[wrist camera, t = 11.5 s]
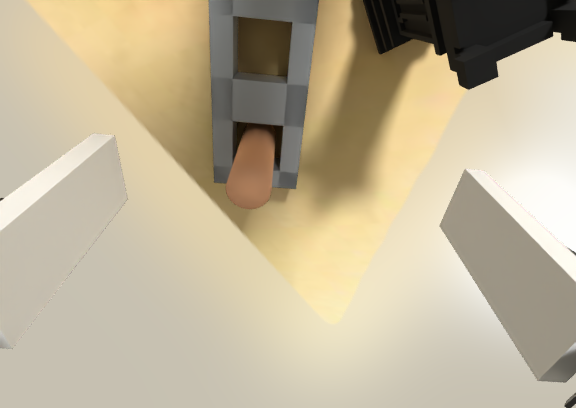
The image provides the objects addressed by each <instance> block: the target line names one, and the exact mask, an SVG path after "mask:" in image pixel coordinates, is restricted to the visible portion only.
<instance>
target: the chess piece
mask: <svg viewBox="0 0 576 408" xmlns="http://www.w3.org/2000/svg"><path fill="white" fill-rule="evenodd" d="M363 2H364V6H365V9H366V12H367V16H368V19H369V22H370V25H371V29H372V32H373V35H374V39H375V42H376V45H377V48H378V52H379V54H383V53H385V52H387V51H389V50H391V49H393V48H395V47H397V46H399V45H402V44H404V43H406V42H408V41H410V40H412V39H417V40H421V41H424V42H428V43H432V44H434V48H435V52H436V54H437V55H440V56H441V55H443V54H445V53H447V55H448V60H449V65H450V70H452V71H455V72H457V76H458V81H459V85H460V86H462V87H464V88H466V89H468V90H469V89H472V88H474V87H476V86H478V85H481V84H483V83H485V82H487V81H490V80H492V79H494V78H496V77H498V71H497V63H496V62H497V61H499V60H501V59H503V58H505V57H508V56H510V55H512V54H515V53H517V52H519V51H521V50H524V49H526V48H528V47H530V46H533V45H535V44H537V43H539V42H541V41H544V40H546V39H548V38H550V37H553V32H559V33H561V40H566V41H573V42H576V0H363Z"/></svg>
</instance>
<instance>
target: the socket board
mask: <svg viewBox="0 0 576 408" xmlns="http://www.w3.org/2000/svg"><path fill="white" fill-rule="evenodd" d="M318 3H319V0H209V25H210V59H211V93H212V127H213V161H214V182H215V183H227V180H228V177H229V174H230V171H231V168H232V165H233V162H234V159H235V156H236V153H237V122H248V123H259V124H270V125H281V126H283V131H282V143H281V154H280V158H276V157H274V165H273V178H272V187H277V188H290V189H296V185H297V177H298V168H299V160H300V152H301V144H302V135H303V127H304V119H305V111H306V102H307V94H308V86H309V77H310V69H311V61H312V53H313V44H314V36H315V28H316V19H317V11H318ZM238 17H247V18H257V19H266V20H276V21H285V22H292V28H291V39H290V51H289V62H288V74H287V77H285V76H275V75H265V74H254V73H244V72H238Z"/></svg>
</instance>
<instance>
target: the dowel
mask: <svg viewBox="0 0 576 408" xmlns="http://www.w3.org/2000/svg"><path fill="white" fill-rule="evenodd" d="M275 141H276V132H275V129H274V127H273V126H272V125H270V124H259V123H248V124H247V126H246V127H245V130H244V133H243V136H242V139H241V141H240V144H239V147H238V150H237V153H236V156H235V159H234V162H233V165H232V168H231V171H230V174H229V177H228V180H227V183H226V193H227V195H228V197H229V199H230V200H231V201H232V202H233V203H234V204H235V205H237V206H239V207H241V208H245V209H255V208H259V207H261V206H263V205H264V204H265V203H266V202H267V201H268V200H269V198H270V196H271V190H272V178H273V165H274V153H275Z"/></svg>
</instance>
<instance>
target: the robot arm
mask: <svg viewBox="0 0 576 408" xmlns="http://www.w3.org/2000/svg"><path fill="white" fill-rule="evenodd" d="M126 201H127V193H126V188H125V183H124V179H123V174H122V169H121V164H120V159H119V154H118V149H117V144H116V139H115V135H106V134H95V133H93V134H92V135H90V136H89V137H88V138H86V139H85V140H83V141H82V142H81V143H79V144H78V145H77V146H75V147H74V148H72V149H71V150H70V151H68V152H67V153H66V154H64V155H63V156H62V157H60V158H59V159H57V160H56V161H55V162H53V163H52V164H51V165H49V166H48V167H46V168H45V169H44V170H42V171H41V172H40V173H38V174H37V175H36V176H34V177H33V178H32V179H30V180H29V181H28V182H26V183H25V184H23V185H22V186H21V187H19V188H18V189H17V190H15V191H14V192H12V193H11V194H10V195H8V196H7V197H6V198H0V348H6V349H13V347H14V346H15V345H16V343H17V342H18V341H19V340H20V338H21V337H22V336H23V334H24V333H25V332H26V330H27V329H28V328H29V327H30V325H31V324H32V323H33V321H34V320H35V319H36V317H37V316H38V315H39V313H40V312H41V311H42V310H43V308H44V307H45V306H46V304H47V303H48V302H49V301H50V299H51V298H52V297H53V295H54V294H55V293H56V292H57V290H58V289H59V288H60V286H61V285H62V284H63V282H64V281H65V280H66V279H67V277H68V276H69V275H70V273H71V272H72V271H73V269H74V268H75V267H76V266H77V264H78V263H79V262H80V260H81V259H82V258H83V256H84V255H85V254H86V253H87V251H88V250H89V249H90V247H91V246H92V245H93V244H94V242H95V241H96V239H97V238H98V237H99V236H100V234H101V233H102V232H103V230H104V229H105V228H106V227H107V225H108V224H109V223H110V221H111V220H112V219H113V218H114V216H115V215H116V213H117V212H118V211H119V210H120V208H121V207H122V206H123V204H124V203H125V202H126ZM440 227H441V229H442V231H443V232H444V234H445V235H446V237H447V239H448V240H449V242H450V243H451V245H452V246H453V248H454V250H455V251H456V253H457V254H458V256H459V257H460V259H461V260H462V262H463V264H464V265H465V267H466V268H467V270H468V272H469V273H470V275H471V276H472V278H473V280H474V281H475V283H476V284H477V286H478V287H479V289H480V291H481V292H482V294H483V295H484V297H485V298H486V300H487V302H488V303H489V305H490V306H491V308H492V309H493V311H494V313H495V314H496V316H497V317H498V319H499V321H500V322H501V324H502V325H503V327H504V328H505V330H506V332H507V333H508V335H509V336H510V338H511V339H512V341H513V342H514V344H515V346H516V347H517V349H518V351H519V352H520V354H521V355H522V357H523V358H524V360H525V362H526V363H527V365H528V366H529V368H530V369H531V371H532V372H533V374H534V376H535V377H536V379H537V381H550V382H567V381H568V380H569V379H570V378H571V377H572V376H573V375H574V374H575V373H576V253H575V252H574V251H572V250H570V249H569V248H567V247H566V246H565V245H564V244H563V243H562V242H560V241H559V240H558V239H557V238H556V237H555V236H554V235H553V234H552V233H551V232H550V231H549V230H547V229H546V228H545V227H544V226H543V225H542V224H541V223H540V222H539V221H538V220H537V219H536V218H535V217H534V216H533V215H531V214H530V213H529V212H528V211H527V210H526V209H525V208H524V207H523V206H522V205H521V204H520V203H519V202H518V201H516V200H515V199H514V198H513V197H512V196H511V195H510V194H509V193H508V192H507V191H506V190H505V189H504V188H502V187H501V186H500V185H499V184H498V183H497V182H496V181H495V180H494V179H493V178H492V177H491V176H490V175H488V174H487V173H486V172H485V171H483V170H473V169H465V170H464V172H463V174H462V177H461V179H460V181H459V183H458V185H457V188H456V190H455V192H454V194H453V197H452V199H451V201H450V203H449V206H448V208H447V210H446V212H445V215H444V217H443V219H442V221H441V223H440ZM575 404H576V393H575V394H574V395H573V396H571V397H570V398H569V399H568V400H567V401H566V403H565V407H566V408H571V407H572V406H574V405H575Z"/></svg>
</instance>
